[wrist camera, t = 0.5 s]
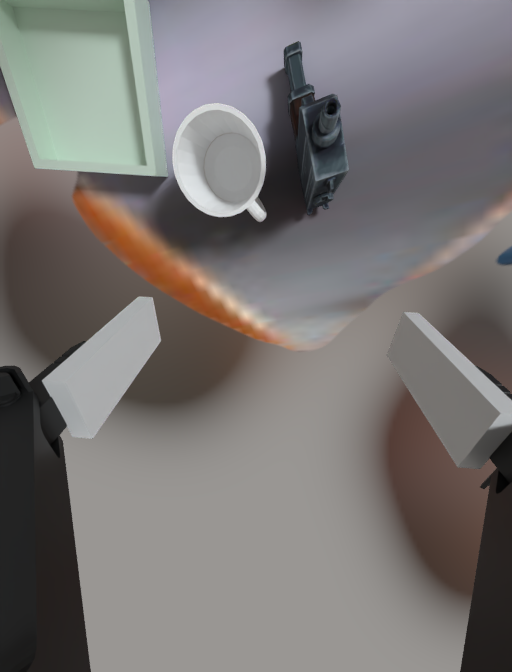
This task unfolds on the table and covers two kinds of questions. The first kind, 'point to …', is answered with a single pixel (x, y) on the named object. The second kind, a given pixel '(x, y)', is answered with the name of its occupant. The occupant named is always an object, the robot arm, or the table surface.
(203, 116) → the mug
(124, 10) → the parts tray
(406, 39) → the table surface
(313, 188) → the gun
